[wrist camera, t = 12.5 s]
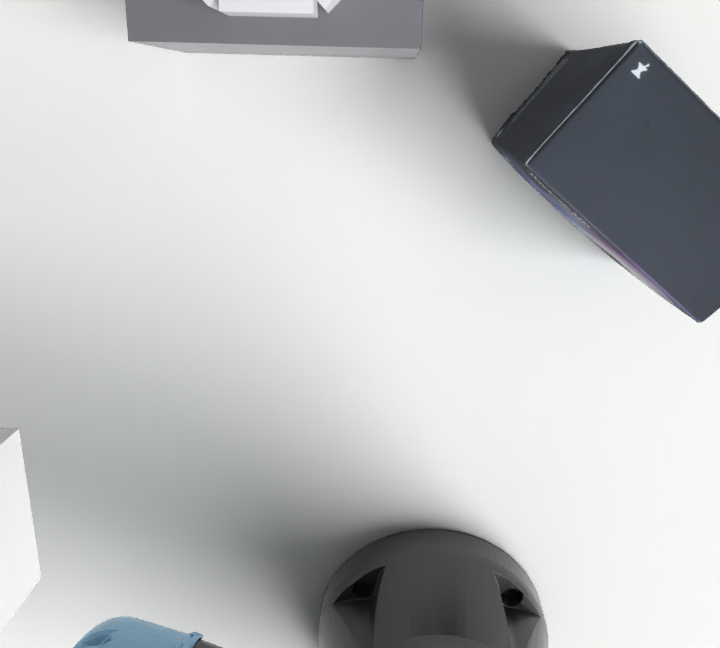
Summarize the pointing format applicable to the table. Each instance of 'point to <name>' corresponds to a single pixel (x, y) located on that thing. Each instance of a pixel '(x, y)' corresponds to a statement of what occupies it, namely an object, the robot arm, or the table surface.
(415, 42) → the camera body
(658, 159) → the small box
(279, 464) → the table surface
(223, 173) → the table surface
